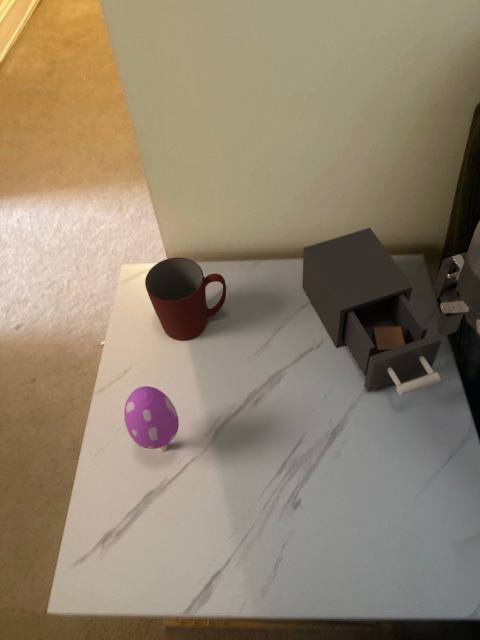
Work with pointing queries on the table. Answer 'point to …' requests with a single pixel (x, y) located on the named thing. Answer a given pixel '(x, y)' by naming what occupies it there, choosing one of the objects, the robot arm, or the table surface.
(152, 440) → the toy
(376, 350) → the block
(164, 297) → the mug
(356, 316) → the drawer
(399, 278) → the cabinet
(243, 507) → the table surface
